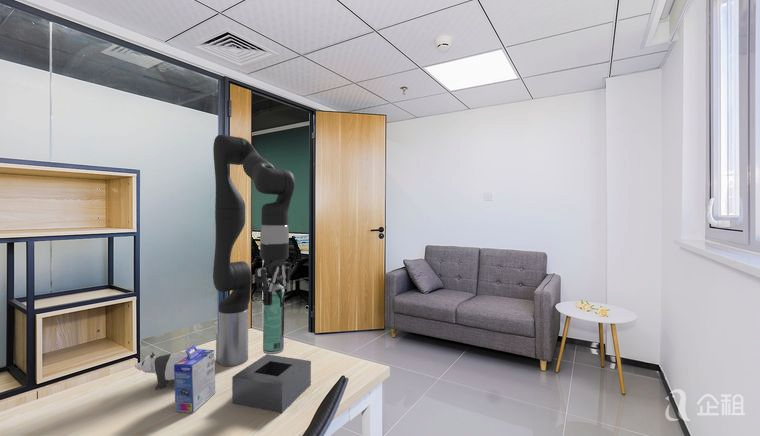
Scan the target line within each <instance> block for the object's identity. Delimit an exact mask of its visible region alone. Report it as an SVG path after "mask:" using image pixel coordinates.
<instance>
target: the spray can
mask: <svg viewBox="0 0 760 436" xmlns="http://www.w3.org/2000/svg"><path fill="white" fill-rule="evenodd" d="M277 281H278V280H277V278H276V281H275V283H274V284H273V287H272V291H271V292H272V305H270V306H266V305H264V304H263V323H262V324H263V325H262V326H263V327H262V328H263V331H262V332H263V334H262V335H263V339H262V342H263V343H262V348H263V349H262V352H263V354H265V355H266V354H268V355H278V354H280V353H282V352H284V348H285V287H284V286H282V285H280V283H278V282H277ZM267 285H268V286H269V284H267Z"/></svg>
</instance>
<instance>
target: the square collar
mask: <svg viewBox="0 0 760 436" xmlns="http://www.w3.org/2000/svg"><path fill="white" fill-rule="evenodd" d="M311 374H312V361H311V360H308V359H300V358H293V357H286V356H281V355H276V354H265V355H263V356H262V357H260V358H259V359H257V360H255V361H254V362H252V363H251V364H249V365H248V366H246V367H244V368H243V369H242V370H240V371H239V372H237V373H235V374H234V375H233V376H232V379H231V382H232V383H231V390H232V391H231V396H232V398H231V403H232V404H236V405H241V406H245V407H249V408H255V409H260V410H265V411H270V412H275V413H279V414H283V413H284V412H285V411H286V410H287V409H288V408H289V407H290V406H291V405H292V404H293V403H294V402H295V401H297V399H298V398H299V397H300V396H301V395H302V394H303V393H304V392H305V391H307V389H309V387H310V386H311V383H312V382H311V381H312V379H311V377H312V375H311Z"/></svg>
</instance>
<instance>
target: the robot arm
mask: <svg viewBox="0 0 760 436" xmlns="http://www.w3.org/2000/svg"><path fill="white" fill-rule="evenodd" d="M213 141H214V142H213V148H212V149H213V150H212V151H213V153H212V154H213V163H214V164H213V165H214V166H213V168H214V178H215V201H214V203H215V205H214V206H215V207H214V215H215V216H214V218H215V220H214V222H215V246H214V247H215V248H214V259H213V271H212V279H213V280H212V281H213V282H212V283H213V285H214V288H215V290H216V291H218V292H220V293H225V292H231V293H230V294H229V295H228V296H227V297H225V298H224V299H222V300H221V301H219V304H218V331H217V332H216V333H215V363H218V364H219V365H220V366H224V367H233V366H238V365H241V364H244V363H245V362H247V361H248V360H249V304H250V301H251V290H252V289H251V288H252V270H251V267H250V265H249V264H248V262H246V261H242V260H241V261H234V262H233V261H231V257H232V251H233V248H234V245H235V243H236V241H237V239H239V236H240V234H241V233H242V232H243V229H244V228H245V224H246V204H245V200H244V197H243V196H242V195H241V194H240V192H239V190H238V189H237V187H236V186H235V185H234V183H233V181H232V178H231V175H230V172H229V165H237V166H242V169H243V171H244V173H245V175H247V176H248V177H249V178H250V179H251V180H252V182H253V183H254V186H255V190H256V191H257V192H259V193H261V194H264V195H275V196H276V195H277V197H276V200H275V201H273V202H269V203H265V204H263V205H262V206H261V222H260V223H261V226H260V233H259V235H260V236H259V237H260V238H259V239H260V240H259V242H260V245H259V246H260V247H259V249H260V250H259V251H260V252H259V258H260V259H262V261H263V263H262V267H260V268H255V270H254V275H255V281H256V282H255V283H256V288H257V289H256V290H257V291H259V292H262V303H263V304H262V305H263V306H264V305H266V306H270V305H272V292H271V291H272V287H273V284H274V283H275V281H276V278H277V280H278V281H277V282H278V283H280V285H282V286H284V288H285V287H286V285H287V284H289V283H290V279H291V271H292V262H288V261H286V260H287V259H288V258H289V255H290V254H289V252H290V251H289V250H290V249H289V248H290V247H289V246H290V245H289V244H290V240H289V239H290V235H289V209H290V208H289V207H290V205H291V201H292V197H293V194H294V191H295V187H296V181H295V180H296V178H295V176H294V174H293V172H291V171H290V170H287V169H279V168H275V166H274V165H273V164H272V163H271V162H269V161H268V160H267V159H265V158H264V157H262V156H261V155H260V154H259V153H258V151H257V150H256V149H255V147H254V146H253V145H252V143H250V141H249V140H248V139H246V138H243V137H240V136H239V137H238V136H234V135H233V136H232V135H227V134H225V135H224V134H218V135H217V136H215V138H214V139H213ZM268 285H269V286H268Z"/></svg>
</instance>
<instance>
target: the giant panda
mask: <svg viewBox="0 0 760 436" xmlns="http://www.w3.org/2000/svg"><path fill="white" fill-rule="evenodd" d="M189 354H191V353H190V352H189ZM185 357H187V353H186V351H176V352H173V353H169V354H163V355H160V356H155V353H154V352H151V354H149V355H146V356H145V357H144V359H143V360H142V361H140V362H138V363H136V364H135V365H134V366H135V368H136V369H137V370H139V371H142V372H144V373H145V374H155V375H156V380H157V386H155V388H154V390H161V389H165V388H166V384H167V383H168V382H169V381H170V380H175V379H174V365H175V364H176V363H178V362H179V361H181V360H182V359H184V358H185Z"/></svg>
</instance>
